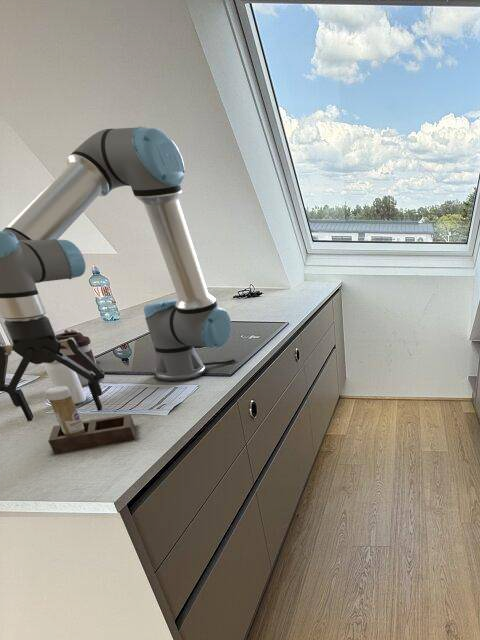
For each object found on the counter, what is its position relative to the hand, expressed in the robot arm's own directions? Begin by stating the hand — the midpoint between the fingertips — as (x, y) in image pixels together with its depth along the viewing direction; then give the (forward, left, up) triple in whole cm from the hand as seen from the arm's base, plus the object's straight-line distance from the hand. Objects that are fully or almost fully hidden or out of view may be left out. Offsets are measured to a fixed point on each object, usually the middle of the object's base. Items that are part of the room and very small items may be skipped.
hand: (66, 414), depth 104 cm
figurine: (+4, -73, -8) cm, 74 cm away
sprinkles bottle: (0, 0, -8) cm, 8 cm away
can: (+4, -32, -8) cm, 33 cm away
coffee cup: (+2, -50, -8) cm, 51 cm away
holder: (-4, 0, -7) cm, 8 cm away
